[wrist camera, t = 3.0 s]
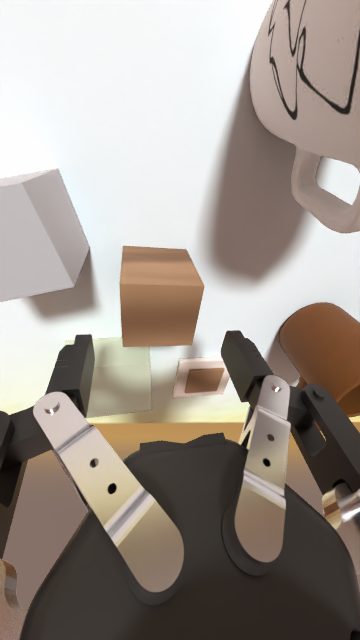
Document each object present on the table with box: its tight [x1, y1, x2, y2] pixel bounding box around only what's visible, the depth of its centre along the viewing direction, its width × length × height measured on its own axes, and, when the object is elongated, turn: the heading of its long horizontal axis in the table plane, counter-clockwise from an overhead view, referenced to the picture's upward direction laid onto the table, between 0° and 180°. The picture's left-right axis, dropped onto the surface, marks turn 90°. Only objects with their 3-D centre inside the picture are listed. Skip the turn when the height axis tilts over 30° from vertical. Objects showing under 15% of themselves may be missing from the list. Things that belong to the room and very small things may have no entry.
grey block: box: [0, 169, 90, 302], centre depth 13 cm, size 5×5×6 cm
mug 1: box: [250, 0, 360, 233], centre depth 10 cm, size 11×8×10 cm
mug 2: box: [279, 303, 360, 431], centre depth 24 cm, size 12×8×9 cm, turn 162°
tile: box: [173, 357, 230, 398], centre depth 29 cm, size 7×7×1 cm
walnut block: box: [120, 246, 204, 347], centre depth 17 cm, size 5×5×6 cm
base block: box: [64, 337, 152, 418], centre depth 24 cm, size 8×8×4 cm
